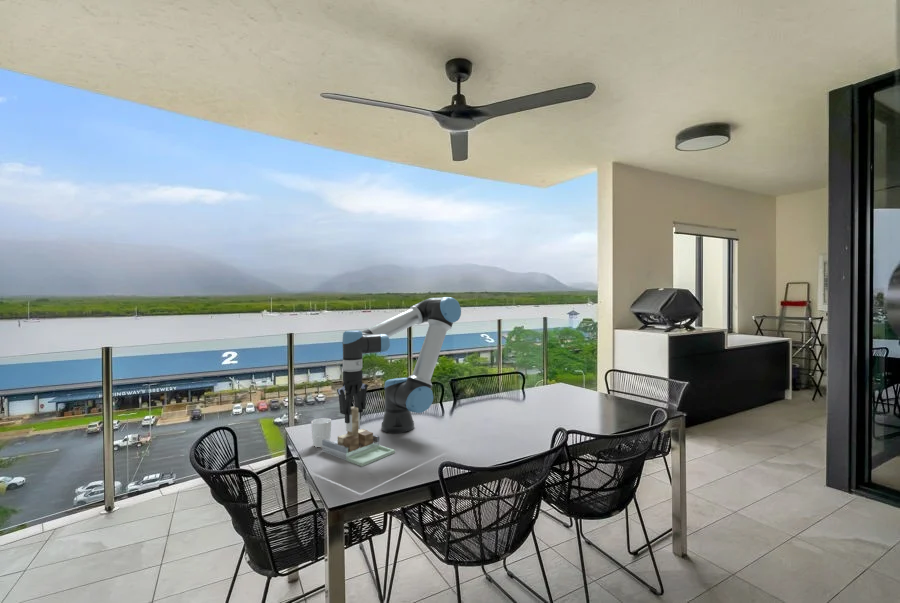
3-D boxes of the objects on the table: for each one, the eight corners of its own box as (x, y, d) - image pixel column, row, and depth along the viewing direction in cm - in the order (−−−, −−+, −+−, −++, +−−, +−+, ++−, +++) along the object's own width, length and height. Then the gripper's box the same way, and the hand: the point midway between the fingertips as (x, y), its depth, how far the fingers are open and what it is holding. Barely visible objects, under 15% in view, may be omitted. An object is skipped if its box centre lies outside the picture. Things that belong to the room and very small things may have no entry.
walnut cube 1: (352, 445, 152) (352, 435, 152) (358, 448, 150) (358, 437, 150) (343, 448, 149) (343, 438, 149) (350, 451, 146) (349, 440, 146)
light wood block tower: (362, 436, 160) (362, 404, 160) (367, 437, 158) (367, 405, 158) (337, 444, 150) (337, 410, 150) (342, 446, 149) (342, 411, 149)
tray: (379, 448, 157) (379, 445, 157) (395, 453, 151) (394, 449, 151) (346, 461, 144) (346, 457, 144) (362, 467, 139) (362, 463, 139)
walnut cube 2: (366, 440, 158) (366, 430, 158) (373, 442, 155) (373, 432, 155) (358, 443, 154) (358, 433, 154) (365, 445, 152) (365, 435, 152)
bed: (355, 441, 166) (355, 429, 166) (379, 448, 157) (379, 436, 157) (322, 452, 153) (322, 439, 154) (346, 461, 144) (346, 448, 144)
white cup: (335, 443, 164) (335, 419, 164) (320, 449, 157) (320, 424, 157) (322, 440, 168) (322, 417, 168) (307, 446, 161) (307, 421, 161)
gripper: (341, 373, 146) (341, 437, 145) (374, 368, 158) (375, 426, 158) (329, 371, 150) (329, 433, 150) (363, 366, 163) (363, 423, 163)
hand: (353, 429), depth 154 cm, fingers closed on light wood block tower, 3 cm apart
